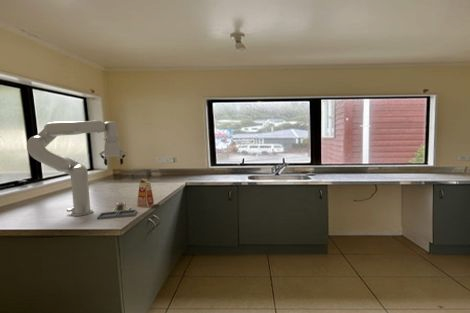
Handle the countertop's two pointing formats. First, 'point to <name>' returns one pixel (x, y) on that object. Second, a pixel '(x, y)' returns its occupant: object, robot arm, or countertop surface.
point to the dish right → (127, 213)
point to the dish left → (108, 215)
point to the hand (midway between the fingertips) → (113, 164)
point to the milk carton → (145, 194)
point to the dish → (121, 210)
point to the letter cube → (121, 206)
